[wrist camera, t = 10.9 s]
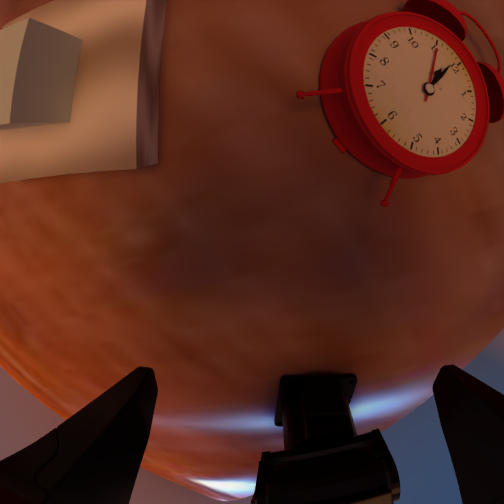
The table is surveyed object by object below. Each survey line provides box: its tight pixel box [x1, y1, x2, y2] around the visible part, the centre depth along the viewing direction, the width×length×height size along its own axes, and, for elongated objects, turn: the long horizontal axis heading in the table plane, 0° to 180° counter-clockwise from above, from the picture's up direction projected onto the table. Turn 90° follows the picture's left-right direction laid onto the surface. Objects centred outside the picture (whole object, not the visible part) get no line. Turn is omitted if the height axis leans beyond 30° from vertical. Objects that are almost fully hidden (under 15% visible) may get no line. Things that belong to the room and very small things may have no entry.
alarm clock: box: [297, 0, 504, 207], centre depth 13 cm, size 11×6×15 cm
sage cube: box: [0, 18, 82, 130], centre depth 10 cm, size 5×5×5 cm
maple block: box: [0, 0, 167, 183], centre depth 14 cm, size 12×12×4 cm
